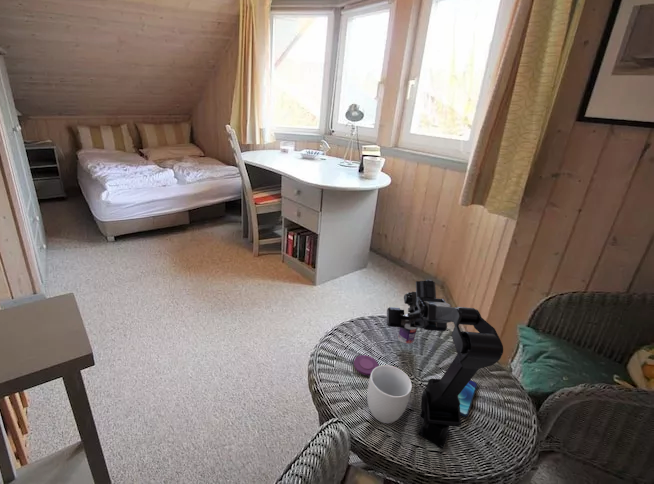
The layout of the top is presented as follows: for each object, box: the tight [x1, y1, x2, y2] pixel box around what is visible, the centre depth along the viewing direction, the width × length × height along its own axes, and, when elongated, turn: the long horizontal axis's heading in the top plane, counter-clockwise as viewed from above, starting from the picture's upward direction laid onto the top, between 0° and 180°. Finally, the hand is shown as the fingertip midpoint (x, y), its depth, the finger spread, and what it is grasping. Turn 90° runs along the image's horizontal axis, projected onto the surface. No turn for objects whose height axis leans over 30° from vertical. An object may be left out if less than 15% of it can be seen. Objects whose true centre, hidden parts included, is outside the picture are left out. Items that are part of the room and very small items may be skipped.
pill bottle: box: [397, 313, 418, 345], centre depth 124 cm, size 5×5×10 cm
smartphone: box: [458, 379, 478, 418], centre depth 108 cm, size 8×1×15 cm
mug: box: [366, 364, 413, 424], centre depth 100 cm, size 15×11×13 cm
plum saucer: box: [353, 354, 380, 377], centre depth 117 cm, size 8×8×1 cm
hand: (408, 322), depth 125 cm, fingers closed on pill bottle, 5 cm apart
